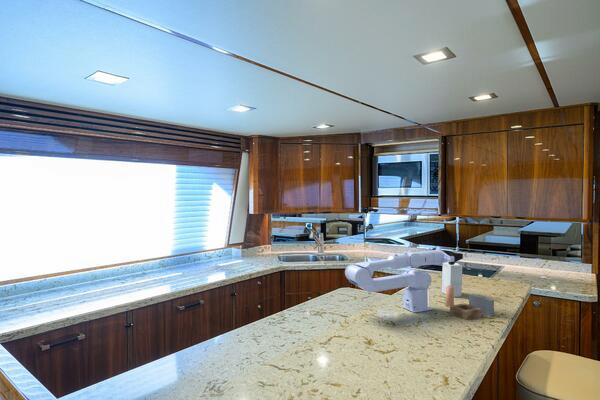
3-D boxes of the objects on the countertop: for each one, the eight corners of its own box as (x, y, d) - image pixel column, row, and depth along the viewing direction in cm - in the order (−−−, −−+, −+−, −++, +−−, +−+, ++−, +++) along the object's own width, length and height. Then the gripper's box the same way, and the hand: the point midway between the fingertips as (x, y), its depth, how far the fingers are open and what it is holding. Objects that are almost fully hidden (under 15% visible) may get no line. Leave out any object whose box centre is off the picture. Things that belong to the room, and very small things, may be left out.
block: (466, 319, 134) (466, 311, 134) (449, 313, 142) (449, 305, 142) (481, 316, 137) (481, 309, 137) (465, 310, 145) (465, 303, 145)
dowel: (450, 307, 149) (449, 288, 149) (444, 305, 152) (444, 286, 152) (455, 306, 150) (455, 287, 150) (450, 304, 153) (449, 286, 153)
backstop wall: (490, 316, 138) (490, 300, 138) (469, 308, 147) (469, 294, 147) (494, 315, 138) (493, 300, 138) (472, 308, 148) (472, 293, 148)
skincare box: (441, 292, 172) (441, 261, 172) (453, 292, 173) (453, 261, 173) (450, 297, 164) (450, 264, 164) (463, 296, 164) (462, 264, 164)
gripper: (441, 250, 143) (468, 247, 148) (418, 245, 157) (443, 243, 161) (441, 268, 143) (468, 264, 148) (418, 261, 157) (443, 258, 161)
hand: (455, 254), depth 155 cm, fingers open, 7 cm apart
